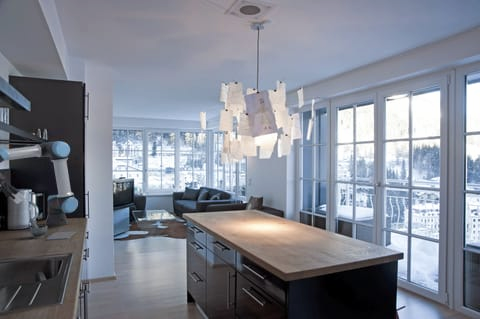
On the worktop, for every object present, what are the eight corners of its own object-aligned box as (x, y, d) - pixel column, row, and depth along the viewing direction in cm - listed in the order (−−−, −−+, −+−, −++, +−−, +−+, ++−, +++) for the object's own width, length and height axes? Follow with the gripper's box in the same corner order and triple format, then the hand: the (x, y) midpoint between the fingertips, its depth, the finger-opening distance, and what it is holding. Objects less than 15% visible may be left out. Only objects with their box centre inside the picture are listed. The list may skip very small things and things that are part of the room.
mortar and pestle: (50, 235, 220) (50, 217, 220) (41, 239, 211) (41, 220, 211) (34, 235, 221) (34, 217, 221) (24, 238, 212) (24, 220, 212)
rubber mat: (54, 233, 227) (54, 232, 227) (75, 232, 231) (75, 231, 231) (45, 240, 208) (45, 239, 208) (68, 238, 211) (68, 238, 211)
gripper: (-4, 181, 218) (21, 203, 223) (-17, 182, 195) (11, 207, 200) (6, 173, 221) (31, 195, 225) (-6, 173, 197) (22, 199, 202)
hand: (22, 201), depth 213 cm, fingers open, 13 cm apart
